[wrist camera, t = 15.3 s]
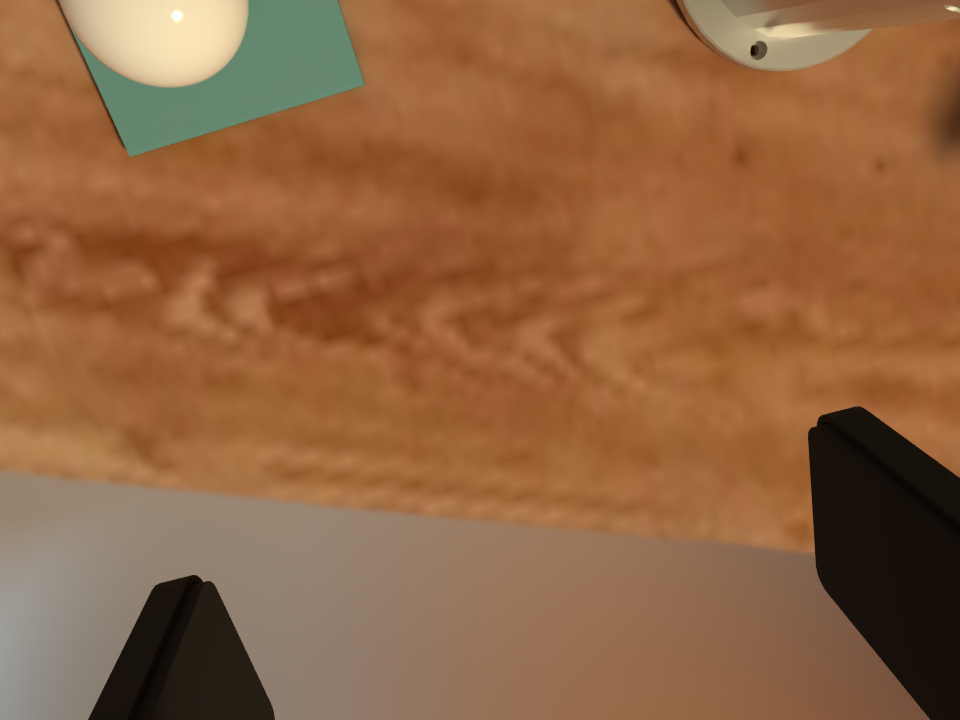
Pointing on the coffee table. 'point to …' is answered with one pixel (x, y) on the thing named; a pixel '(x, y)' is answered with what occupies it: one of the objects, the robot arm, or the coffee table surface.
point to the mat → (240, 77)
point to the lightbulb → (160, 36)
